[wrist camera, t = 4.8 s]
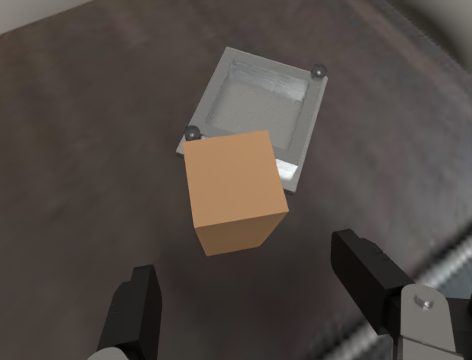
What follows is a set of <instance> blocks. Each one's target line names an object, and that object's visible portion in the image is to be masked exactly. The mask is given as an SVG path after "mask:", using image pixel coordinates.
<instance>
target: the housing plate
mask: <svg viewBox="0 0 472 360" xmlns="http://www.w3.org/2000/svg"><path fill="white" fill-rule="evenodd" d="M326 72H327V68H326V67H325V66H324V65H323V64H316V65H314V66H313V69H312V71H311V72H309V71H306V70H302V69H299V68H296V67H293V66H289V65H286V64H283V63H279V62H276V61H273V60H269V59H266V58H263V57H259V56H256V55H253V54H249V53H246V52H243V51H240V50H236V49H233V48H230V47H226V49H225V51H224V53H223V55H222V58H221V60H220V62H219V64H218V66H217V68H216V70H215V72H214V74H213V76H212V78H211V80H210V82H209V84H208V86H207V88H206V90H205V93H204V95H203V97H202V99H201V101H200V103H199V105H198V107H197V109H196V111H195V113H194V115H193V117H192V119H191V121H190V123H189V125H188V127H186V128H185V130H184V136H183V138H182V140H181V142H180V144H179V146H178V148H177V150H176V154H177V156H179V157H181V158H184V159H185V157H184V150H183V143H182V142H186V141H193V140H200V139H207V138H214V137H221V136H229V135H236V134H243V133H250V132H257V131H264V130H268V133H269V137H270V141H271V145H272V149H273V153H274V156H275V160H276V164H277V168H278V172H279V175H280V179H281V183H282V187H283V191H284V193H287V194H290V195H293V194H294V193H295V190H296V187H297V184H298V180H299V177H300V173H301V170H302V166H303V163H304V159H305V156H306V152H307V149H308V145H309V142H310V138H311V135H312V132H313V128H314V125H315V121H316V118H317V114H318V111H319V107H320V104H321V100H322V97H323V93H324V90H325V86H326V83H327V80H328V77H326V76H325V74H326Z"/></svg>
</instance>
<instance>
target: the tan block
mask: <svg viewBox="0 0 472 360" xmlns="http://www.w3.org/2000/svg"><path fill="white" fill-rule="evenodd" d="M182 143H183V150H184V157H185V165H186V172H187V179H188V187H189V194H190V201H191V209H192V216H193V223H194V229H195V231H196V233H197V235H198V238H199V240H200V242H201V245H202V247H203V249H204V251H205V254H206V256H212V255H217V254H222V253H228V252H233V251H239V250H244V249H249V248H255V247H260V246H261V245H262V243H263V242H264V241H265V240H266V238H267V237H268V236H269V235H270V234H271V232H272V231H273V230H274V229H275V227H276V226H277V225H278V224H279V223H280V221H281V220H282V219H283V218H284V217H285V215H286V214H287V213H288V212H289V210H288V206H287V202H286V198H285V195H284V191H283V187H282V183H281V179H280V175H279V172H278V168H277V164H276V160H275V156H274V153H273V149H272V145H271V141H270V137H269V133H268V130H264V131H257V132H250V133H243V134H236V135H229V136H221V137H214V138H207V139H200V140H193V141H186V142H182Z"/></svg>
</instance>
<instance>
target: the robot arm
mask: <svg viewBox="0 0 472 360" xmlns="http://www.w3.org/2000/svg"><path fill="white" fill-rule="evenodd" d="M331 265H332V268H333V270H334V272H335V274H336V275H337V277H338V278H339V280H340V281H341V283H342V284H343V285H344V287H345V288H346V290H347V291H348V293H349V294H350V296H351V297H352V299H353V300H354V301H355V303H356V304H357V306H358V307H359V309H360V310H361V312H362V313H363V315H364V316H365V317H366V319H367V320H368V322H369V323H370V325H371V326H372V328H373V329H374V330H375V332H376V333H377V335H378V336H379V335H383V334H388V333H389V334H390V336H391V337H392V338H393V341H392V352H391V360H472V294H471V297H470V299H458V298H446V297H444V296H443V295H442V294H441V293H439V292H438V291H436V290H435V289H433V288H431V287H428V286H425V285H421V284H415V283H414V282H413V281H412V280H411V279H410V278H409V277H408V276H407V275H406V274H405V273H404V272H403V271H402V270H401V269H400V268H399V267H398V266H397V265H396V264H395V263H394V262H393V261H392V260H390V258H389V257H388V256H387V255H386V254H385V253H383V251H382V250H381V249H380V248H379V247H378V246H377V245H376V244H375V243H373V242H371V241H369V240H367V239H365V238H361V239H360V238H359V237H358V236H357V235H356V234H355V233H354V232H353V231H352V230H351V229H346V230H341V231H335V232H333V233H332V241H331ZM161 312H162V295H161V290H160V287H159V283H158V279H157V276H156V272H155V268H154V266H153V265H146V266H141V267H135V268H134V270H133V273H132V277H131V281H128V282H123V283H122V284H121V285H120V286H119V288H118V289H117V290H116V291H115V293H114V295H113V299H112V302H111V306H110V309H109V312H108V316H107V318H106V322H105V325H104V328H103V331H102V335H101V338H100V341H99V345H98V348H97V351H96V353H95V354H93V355H92V356H91V357H89V358H88V359H87V360H157V353H158V343H159V333H160V322H161Z"/></svg>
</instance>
